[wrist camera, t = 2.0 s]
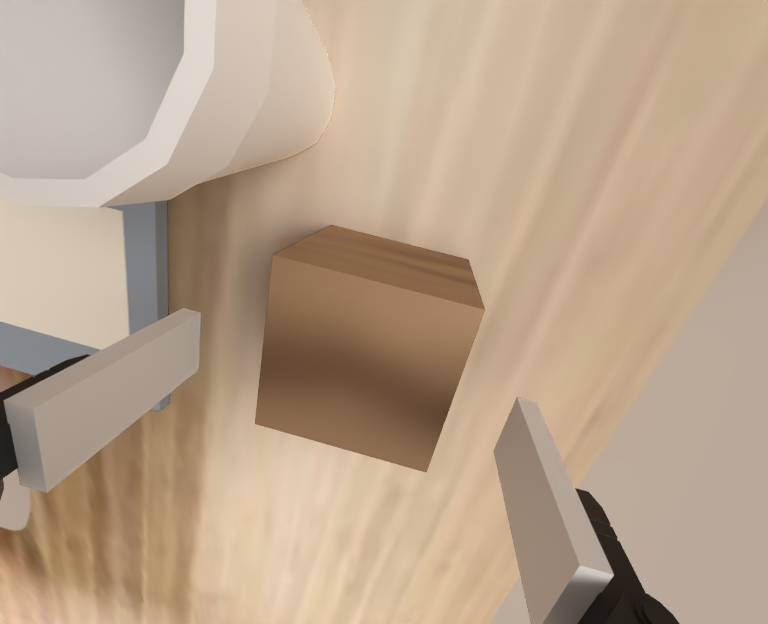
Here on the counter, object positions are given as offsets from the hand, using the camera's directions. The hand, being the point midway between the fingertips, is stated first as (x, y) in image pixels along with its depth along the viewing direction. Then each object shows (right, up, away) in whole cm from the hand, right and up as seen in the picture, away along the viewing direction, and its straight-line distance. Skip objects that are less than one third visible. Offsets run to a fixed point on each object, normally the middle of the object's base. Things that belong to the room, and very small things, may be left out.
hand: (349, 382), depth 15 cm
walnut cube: (+1, +3, +7) cm, 8 cm away
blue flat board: (-20, +6, +9) cm, 22 cm away
